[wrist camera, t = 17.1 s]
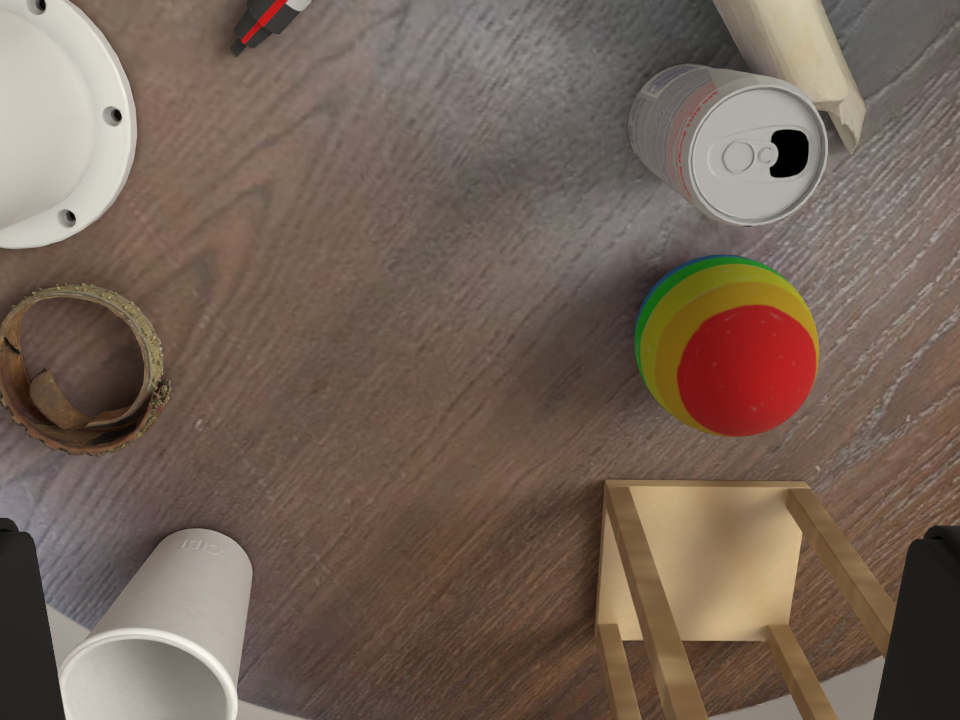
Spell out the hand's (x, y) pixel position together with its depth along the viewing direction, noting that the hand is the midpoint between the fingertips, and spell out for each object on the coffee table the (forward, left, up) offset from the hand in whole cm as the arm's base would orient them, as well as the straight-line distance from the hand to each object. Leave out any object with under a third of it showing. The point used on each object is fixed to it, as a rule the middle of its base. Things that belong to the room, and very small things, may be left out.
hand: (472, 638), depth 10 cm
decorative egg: (+12, -8, -36) cm, 39 cm away
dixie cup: (-15, -23, -36) cm, 45 cm away
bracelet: (-19, -10, -33) cm, 40 cm away
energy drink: (+10, +2, -36) cm, 38 cm away
